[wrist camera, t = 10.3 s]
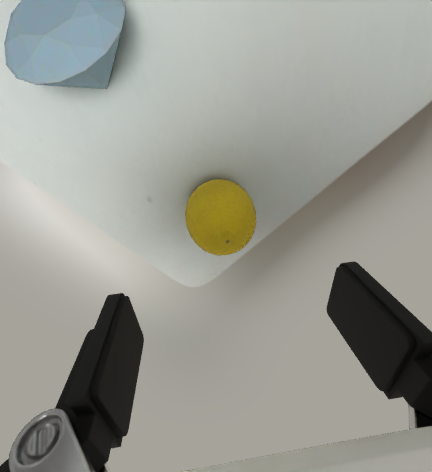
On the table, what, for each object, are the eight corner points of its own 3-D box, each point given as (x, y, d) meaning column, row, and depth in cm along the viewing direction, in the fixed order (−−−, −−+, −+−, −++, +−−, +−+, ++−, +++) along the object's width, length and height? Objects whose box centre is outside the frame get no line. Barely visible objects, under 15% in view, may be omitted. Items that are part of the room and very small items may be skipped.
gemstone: (159, 120, 15) (114, 40, 10) (57, 144, 16) (-26, 82, 11) (153, 35, 17) (113, -64, 12) (62, 62, 18) (-7, -21, 13)
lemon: (214, 233, 24) (224, 286, 17) (173, 198, 21) (166, 243, 14) (255, 197, 22) (285, 240, 15) (216, 155, 20) (230, 182, 13)
